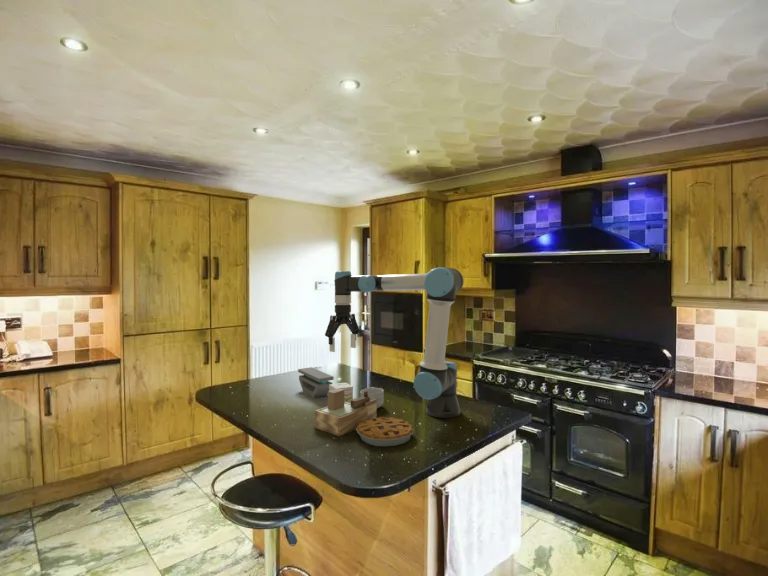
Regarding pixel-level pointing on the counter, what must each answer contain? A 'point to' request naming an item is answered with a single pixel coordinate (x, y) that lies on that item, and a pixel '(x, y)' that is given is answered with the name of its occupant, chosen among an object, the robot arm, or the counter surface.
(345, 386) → the ink box
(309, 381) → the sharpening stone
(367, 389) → the teacup
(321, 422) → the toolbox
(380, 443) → the pie
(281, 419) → the counter surface
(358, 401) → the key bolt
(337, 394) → the lid
